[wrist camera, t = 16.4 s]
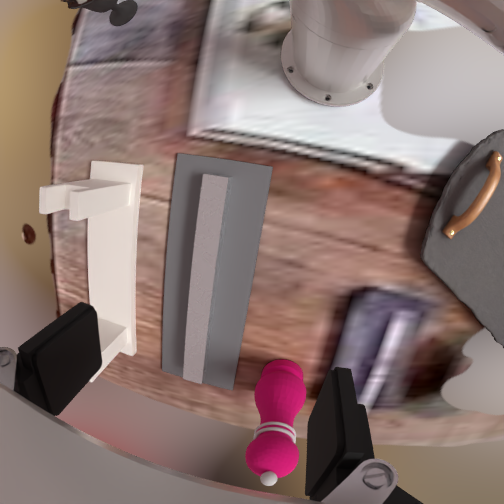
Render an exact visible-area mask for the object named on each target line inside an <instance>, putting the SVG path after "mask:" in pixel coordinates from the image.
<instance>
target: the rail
mask: <svg viewBox="0 0 504 504" xmlns="http://www.w3.org/2000/svg"><path fill="white" fill-rule="evenodd" d="M232 181H233V177H231V176H224V175H218V174H211V173H207V174H203V179H202V186H201V193H200V201H199V208H198V216H197V224H196V232H195V241H194V250H193V259H192V268H191V278H190V289H189V300H188V311H187V324H186V338H185V353H184V370H183V379H185V380H188V381H192V382H196V383H199V384H202V383H203V380H204V378H205V376H206V371H207V363H208V354H209V346H210V337H211V329H212V321H213V313H214V305H215V298H216V290H217V283H218V275H219V268H220V261H221V254H222V247H223V240H224V233H225V226H226V219H227V213H228V206H229V200H230V193H231V187H232Z"/></svg>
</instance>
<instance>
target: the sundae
mask: <svg viewBox="0 0 504 504" xmlns="http://www.w3.org/2000/svg"><path fill="white" fill-rule="evenodd" d="M61 1H63V2H67V3H68V8H71V9H77V8H80V7H83V8H86V9H89V10H92V11H95V12H100V13H102V12H106V11H108V10H110V9H112V10H113V11H112V12H111V15H110V22H111V24H112V25H114V26H120V25H123V24H125V23H127V22H128V21H129V20H131V19H132V18H133V16H134V15H135V13H136V11H137V3H136V2H135V1H133V0H127V1H123V2H121V3H119V4H117V1H118V0H61Z"/></svg>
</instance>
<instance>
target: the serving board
mask: <svg viewBox="0 0 504 504" xmlns="http://www.w3.org/2000/svg"><path fill="white" fill-rule="evenodd" d="M420 256H421V259H422V261H423V262H424V263H425V265H426V266H427V267H428V268H429V269H430V270H431V271H432V272H433V273H434V274H436V275H437V277H438V278H440V279H441V280H442V281H443V282H444V284H445V285H446V286H447V287H448V288H450V289H451V291H452V292H453V293H454V294H455V295H456V297H457V299H459V300H460V301H461V302H463V303H464V304H465V305H466V306H468V307H469V308H470V309H471V310H472V312H473V314H474V315H475V317H476V318H477V319H478V320H479V322H480V323H481V324H482V325H484V326H485V327H486V329H487V330H488V331H490V332H491V334H492V336H493V337H494V340H495V341H496V342H498V343H500V344H501V345H503V348H504V130H503V129H502V130H498V131H495V132H493V133H492V134H490V135H489V136H487V138H486V139H483V140H481V141H480V142H479V143H478V144H477V145H475V146H474V147H473V148H472V150H471V152H470V153H469V154H468V155H467V156H466V157H465V158H464V159H463V161H462V162H461V163H460V164H459V165H458V166H457V168H456V169H455V170H454V172H453V173H452V175H451V177H450V178H449V180H448V182H447V184H446V186H445V187H444V189H443V192H442V195H441V197H440V199H439V201H438V203H437V205H436V206H435V208H434V210H433V213H432V216H431V218H430V222H429V226H428V228H427V229H426V235H425V238H424V240H423V242H422V248H421V254H420Z"/></svg>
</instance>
